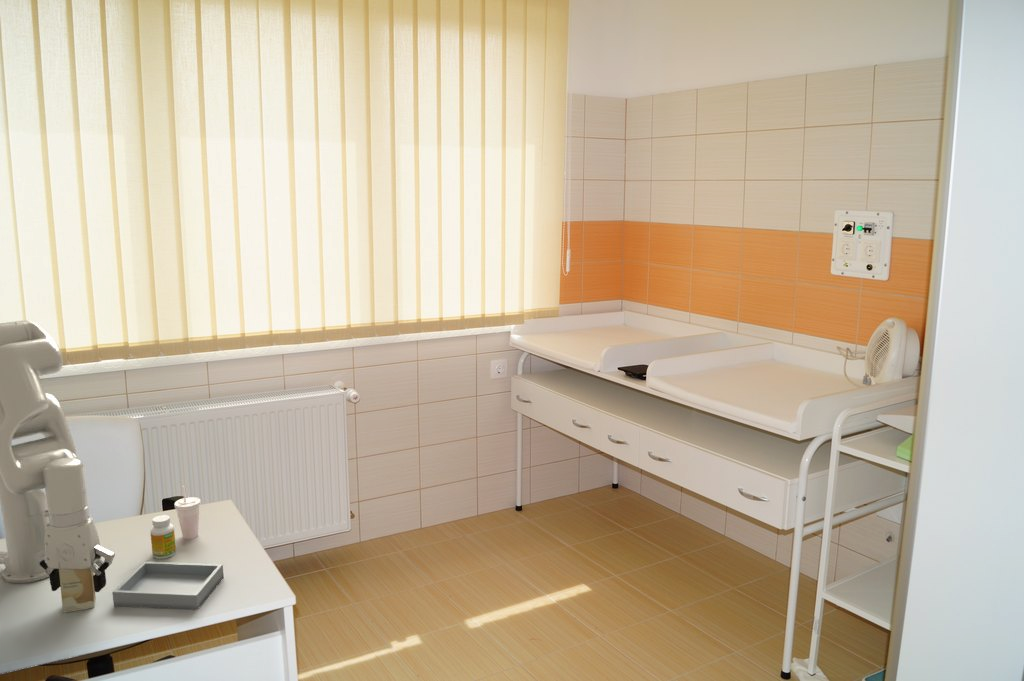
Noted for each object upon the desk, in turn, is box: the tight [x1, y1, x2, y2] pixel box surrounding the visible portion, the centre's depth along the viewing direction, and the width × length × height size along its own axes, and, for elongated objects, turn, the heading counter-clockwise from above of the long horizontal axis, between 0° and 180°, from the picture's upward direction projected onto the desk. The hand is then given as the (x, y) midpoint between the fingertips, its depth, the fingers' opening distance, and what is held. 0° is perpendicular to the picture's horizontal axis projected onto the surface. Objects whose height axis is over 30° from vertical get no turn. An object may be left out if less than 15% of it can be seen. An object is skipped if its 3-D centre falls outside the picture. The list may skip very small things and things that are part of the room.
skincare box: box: [58, 562, 97, 613], centre depth 171 cm, size 6×4×12 cm
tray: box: [111, 561, 224, 610], centre depth 178 cm, size 19×14×4 cm
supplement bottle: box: [150, 514, 177, 560], centre depth 195 cm, size 5×5×10 cm
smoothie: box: [174, 485, 202, 540], centre depth 204 cm, size 6×6×14 cm
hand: (79, 588), depth 171 cm, fingers open, 9 cm apart
